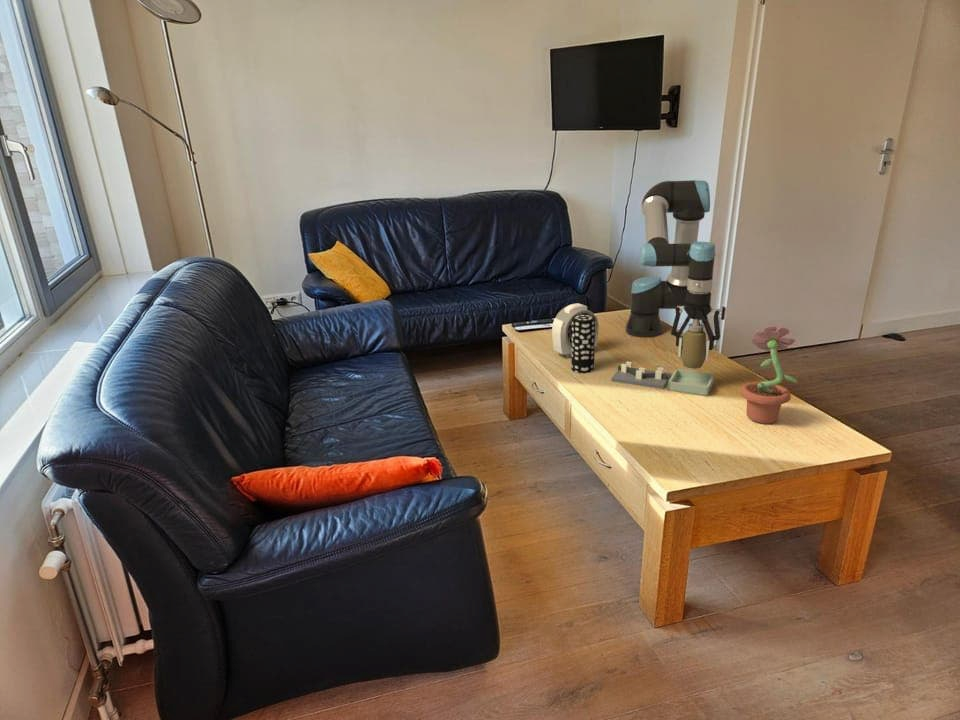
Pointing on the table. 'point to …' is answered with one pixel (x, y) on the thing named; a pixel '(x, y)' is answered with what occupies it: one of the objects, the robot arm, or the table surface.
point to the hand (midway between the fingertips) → (693, 356)
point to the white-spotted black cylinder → (583, 343)
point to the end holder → (691, 382)
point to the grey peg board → (641, 376)
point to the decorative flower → (768, 394)
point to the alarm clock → (568, 328)
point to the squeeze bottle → (694, 346)
